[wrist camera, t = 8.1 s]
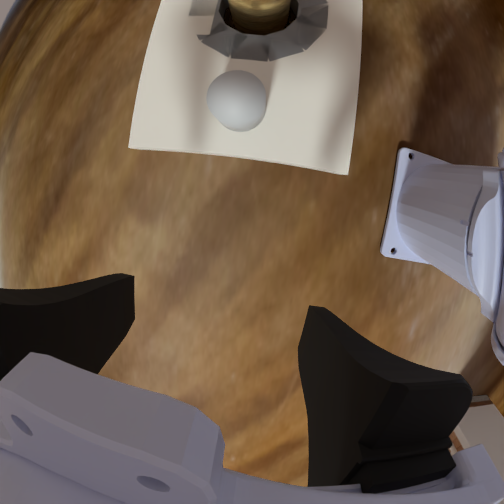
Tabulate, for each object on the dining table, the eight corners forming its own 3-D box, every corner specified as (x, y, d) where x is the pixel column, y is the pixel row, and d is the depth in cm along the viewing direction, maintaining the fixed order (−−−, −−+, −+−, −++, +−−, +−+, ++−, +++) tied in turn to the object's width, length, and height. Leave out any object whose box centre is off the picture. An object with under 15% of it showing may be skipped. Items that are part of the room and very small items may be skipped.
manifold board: (355, -9, 14) (373, -41, 9) (339, 174, 19) (363, 175, 14) (182, -25, 14) (165, -58, 9) (140, 149, 19) (105, 145, 14)
